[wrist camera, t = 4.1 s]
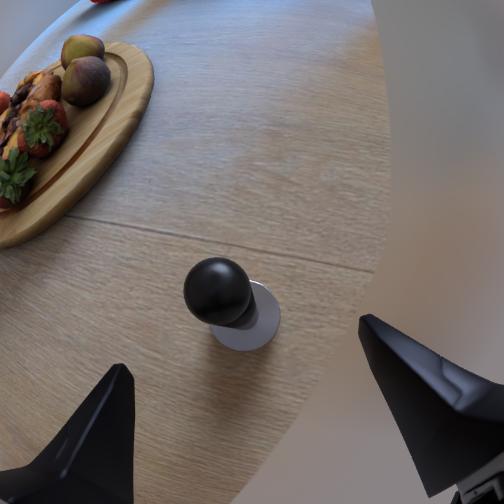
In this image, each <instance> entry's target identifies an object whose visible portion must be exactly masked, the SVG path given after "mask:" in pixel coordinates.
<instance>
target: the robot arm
mask: <svg viewBox="0 0 504 504" xmlns="http://www.w3.org/2000/svg"><path fill="white" fill-rule="evenodd" d="M358 335H359V339H360V341H361V344H362V346H363V349H364V352H365V355H366V358H367V360H368V363H369V366H370V369H371V371H372V373H373V375H374V377H375V379H376V381H377V383H378V385H379V387H380V389H381V391H382V394H383V395H384V398H385V400H386V402H387V404H388V406H389V408H390V410H391V412H392V415H393V416H394V419H395V421H396V423H397V425H398V427H399V429H400V432H401V434H402V436H403V438H404V441H405V443H406V445H407V447H408V450H409V452H410V454H411V456H412V459H413V461H414V464H415V466H416V469H417V471H418V473H419V476H420V478H421V481H422V483H423V485H424V488H425V490H426V493H427V495H428V497H429V498H431V497H432V496H435V495H436V494H438V493H440V492H442V491H444V490H446V489H447V488H449V487H451V486H453V485H454V484H456V485H457V488H458V491H457V492H456V493H455V495H454V497H453V500H452V502H451V504H504V385H501V384H497V383H494V382H491V381H489V380H487V379H485V378H482V377H480V376H478V375H476V374H474V373H472V372H469V371H467V370H465V369H463V368H461V367H459V366H458V365H456V364H454V363H452V362H450V361H449V360H447V359H445V358H444V357H442V356H441V357H440V355H439V354H437V353H435V352H434V351H432V350H430V349H429V348H427V347H425V346H424V345H422V344H420V343H419V342H417V341H415V340H414V339H412V338H410V337H409V336H407V335H405V334H404V333H402V332H400V331H399V330H397V329H395V328H394V327H392V326H390V325H389V324H387V323H385V322H383V321H382V320H380V319H379V318H377V317H375V316H374V315H372V314H367V315H363V316H361V317H360V319H359V329H358ZM134 429H135V387H134V377H133V375H132V374H131V373H130V371H129V370H128V368H127V367H126V366H125V365H124V364H123V363H120V364H114V365H113V366H112V367H111V368H110V369H109V370H108V372H107V373H106V374H105V375H104V377H103V378H102V379H101V380H100V381H99V383H98V384H97V385H96V386H95V387H94V389H93V390H92V391H91V392H90V394H89V395H88V396H87V397H86V399H85V400H84V401H83V402H82V404H81V405H80V406H79V407H78V409H77V410H76V411H75V412H74V414H73V415H72V416H71V417H70V419H69V420H68V421H67V422H66V424H65V425H64V426H63V427H62V429H61V430H60V431H59V432H58V434H57V435H56V436H55V437H54V439H53V440H52V441H51V442H50V443H49V444H48V445H47V446H46V447H45V448H44V450H43V451H42V452H41V453H40V454H39V455H38V456H37V457H36V458H35V459H34V460H33V461H32V462H31V463H30V464H28V465H26V466H24V467H21V468H16V469H11V470H5V471H0V504H134V494H133V455H134Z"/></svg>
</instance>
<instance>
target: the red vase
mask: <svg viewBox="0 0 504 504" xmlns="http://www.w3.org/2000/svg"><path fill="white" fill-rule="evenodd" d="M91 1H92V2H93V3H97V2H106V1H110V0H91Z"/></svg>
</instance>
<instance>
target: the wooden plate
mask: <svg viewBox="0 0 504 504" xmlns="http://www.w3.org/2000/svg"><path fill="white" fill-rule="evenodd" d="M153 86H154V70H153V66H152V63H151V61H150V59H149V57H148V56H147V55H146V54H145V53H144V52H143V51H142V50H141V49H139V48H137V47H135V46H133V45H130V44H125V43H103V42H102V41H101V40H100V39H99V38H96V37H94V36H90V35H76V36H72V37H70V38H67V39H66V41H65V42H64V45H63V49H62V52H61V59H60V60H58V61H56V62H55V63H53V64H52V65H50V66H48V67H47V68H46V69H44V70H43V71H41V72H39V71H35V72H32V73H30V74H28V75H26V77H25V79H24V82H23V81H21V82H20V83H19V84H18V87H17V89H16V91H15V93H14V95H13V97H10V95H9V94H7V93H5V92H2V91H0V249H5V248H10V247H13V246H16V245H19V244H21V243H23V242H25V241H27V240H29V239H31V238H33V237H34V236H36V235H37V234H39V233H40V232H42V231H43V230H45V229H47V228H48V227H49V226H51V225H52V224H53V223H55V222H56V221H57V220H58V219H59V218H60V217H62V216H63V215H64V214H65V213H66V212H67V211H68V210H69V209H70V208H71V207H72V206H73V205H74V204H75V203H76V202H77V201H78V200H79V199H80V198H81V197H82V196H83V195H84V194H85V193H86V192H87V191H88V190H89V189H90V188H91V187H92V186H93V185H94V184H95V183H96V182H97V180H98V179H99V178H100V177H101V176H102V175H103V174H104V172H105V171H106V170H107V169H108V167H109V166H110V165H111V164H112V162H113V161H114V160H115V158H116V157H117V156H118V155H119V153H120V152H121V151H122V150H123V148H124V147H125V145H126V144H127V142H128V141H129V139H130V138H131V136H132V135H133V133H134V131H135V130H136V128H137V126H138V124H139V123H140V121H141V119H142V117H143V115H144V113H145V110H146V108H147V105H148V103H149V100H150V98H151V94H152V90H153Z"/></svg>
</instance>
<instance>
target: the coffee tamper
mask: <svg viewBox="0 0 504 504" xmlns="http://www.w3.org/2000/svg"><path fill="white" fill-rule="evenodd" d="M183 293H184V299H185V303H186V305H187V307H188V309H189V310H190V312H191V313H192V314H193V315H194V316H195V317H196V318H198V319H199V320H201V321H202V322H205V323H207V324H209V325H210V328H211V330H212V333H213V334H214V336H215V337H216V338H217V340H218V341H219V342H220V343H222V344H223V345H224V346H226V347H228V348H230V349H233V350H236V351H252V350H256V349H258V348H261V347H262V346H264V345H266V344H267V343H268V342H269V341H270V340H271V339H272V338H273V337H274V335H275V334H276V332H277V330H278V327H279V323H280V308H279V305H278V302H277V300H276V298H275V296H274V295H273V294H272V292H271V291H270V290H269V289H268V288H266V287H265V286H263V285H262V284H260V283H257V282H254V281H250V280H249V278H248V276H247V274H246V273H245V271H244V270H243V269H242V268H241V267H240V266H239V265H238V264H236V263H235V262H233V261H231V260H229V259H226V258H219V257H215V258H208V259H205V260H203V261H201V262H199V263H197V264H196V265H195V266H194V267H193V268H192V269H191V270H190V271H189V273H188V275H187V277H186V279H185V282H184V289H183Z"/></svg>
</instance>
